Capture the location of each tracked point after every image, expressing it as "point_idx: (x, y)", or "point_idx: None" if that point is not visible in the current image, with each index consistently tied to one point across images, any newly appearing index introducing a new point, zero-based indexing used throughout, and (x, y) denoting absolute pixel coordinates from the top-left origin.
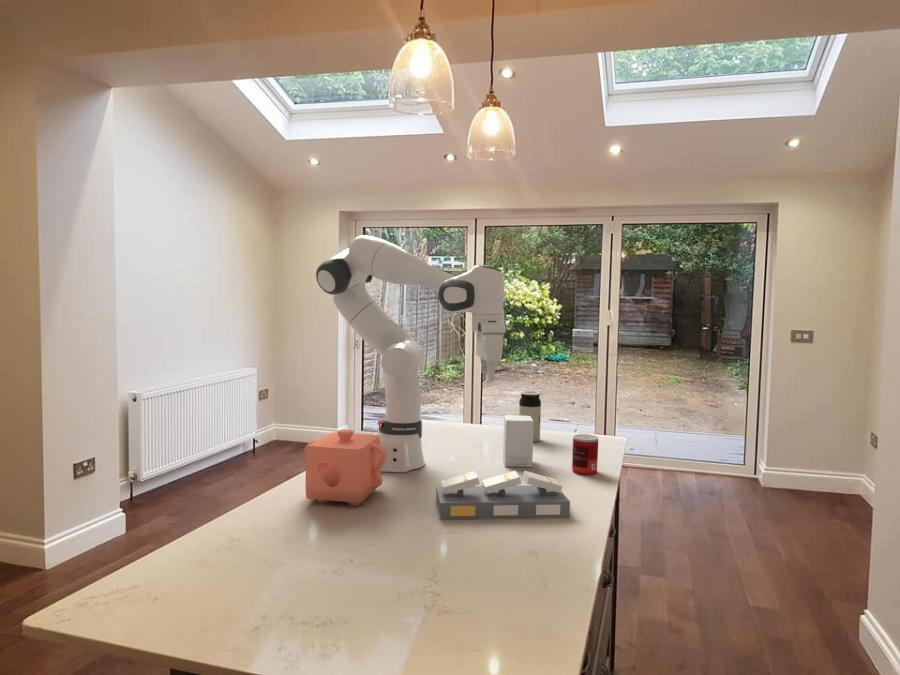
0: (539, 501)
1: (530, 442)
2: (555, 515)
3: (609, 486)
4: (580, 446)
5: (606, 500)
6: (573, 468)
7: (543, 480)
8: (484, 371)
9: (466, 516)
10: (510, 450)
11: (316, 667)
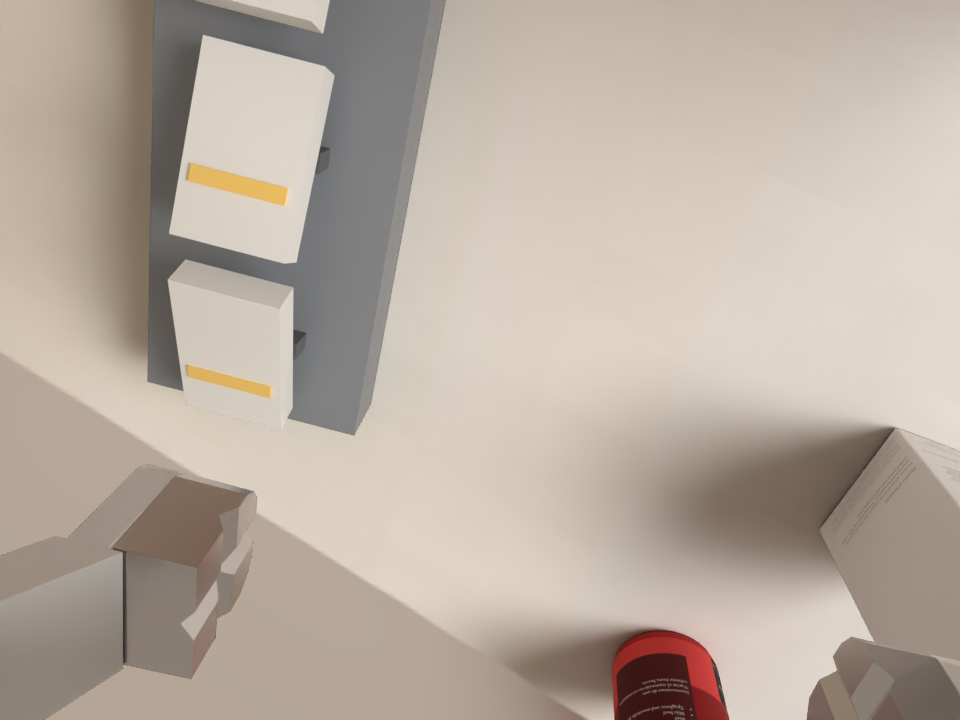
0: (153, 266)
1: (870, 612)
2: None
3: (469, 641)
4: None
5: (329, 553)
6: (673, 642)
7: (184, 342)
8: (849, 691)
9: None
10: (916, 499)
11: None
